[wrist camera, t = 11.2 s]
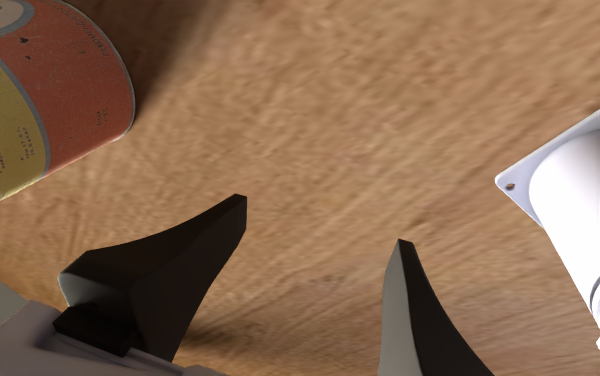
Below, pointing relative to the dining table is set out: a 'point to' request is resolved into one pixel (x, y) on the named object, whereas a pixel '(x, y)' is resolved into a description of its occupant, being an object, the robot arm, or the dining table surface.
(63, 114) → the canned food
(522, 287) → the dining table surface
